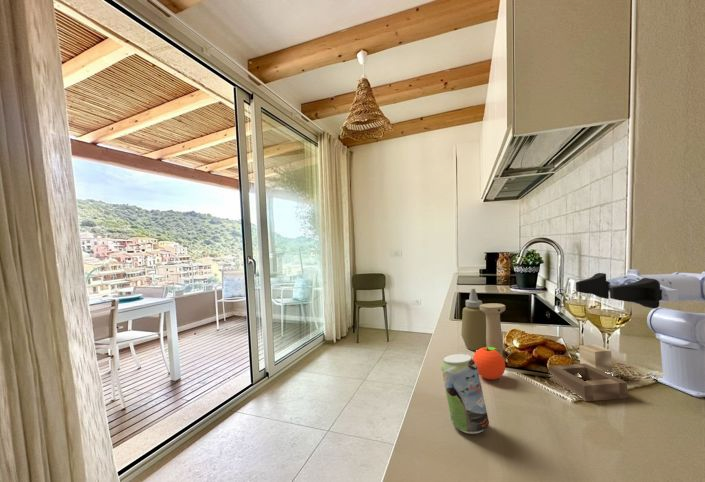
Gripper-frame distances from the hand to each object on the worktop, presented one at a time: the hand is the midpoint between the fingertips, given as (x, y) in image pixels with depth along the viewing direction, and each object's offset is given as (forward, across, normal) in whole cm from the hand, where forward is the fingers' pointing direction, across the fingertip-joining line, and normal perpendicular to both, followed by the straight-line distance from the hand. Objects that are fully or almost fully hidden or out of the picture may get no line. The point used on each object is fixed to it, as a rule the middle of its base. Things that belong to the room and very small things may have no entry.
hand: (593, 289), depth 56 cm
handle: (+12, -17, +22) cm, 30 cm away
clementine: (+17, -9, +22) cm, 29 cm away
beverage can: (+31, +8, +22) cm, 39 cm away
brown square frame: (+1, -2, +21) cm, 21 cm away
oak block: (-7, -7, +21) cm, 24 cm away
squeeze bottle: (+12, -27, +22) cm, 37 cm away
